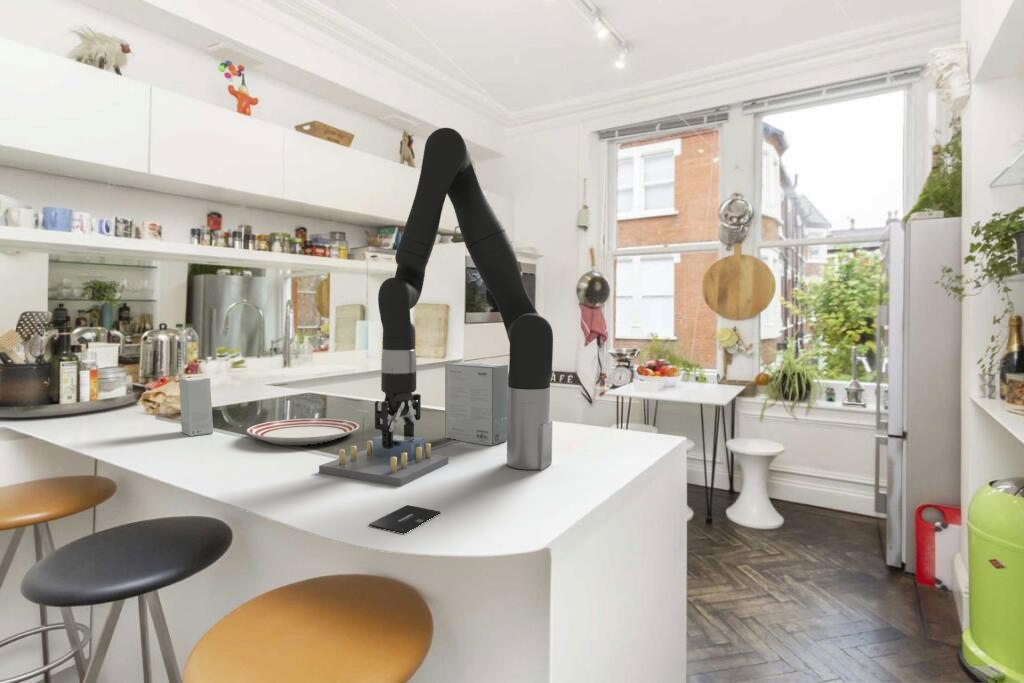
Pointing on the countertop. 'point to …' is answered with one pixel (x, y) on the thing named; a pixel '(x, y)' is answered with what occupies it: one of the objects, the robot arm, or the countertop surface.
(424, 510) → the solid state drive
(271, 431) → the dinner plate
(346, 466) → the grey peg board
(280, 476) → the countertop surface
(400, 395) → the robot arm
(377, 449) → the blue block
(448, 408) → the hard drive box
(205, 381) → the skincare box
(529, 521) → the countertop surface
